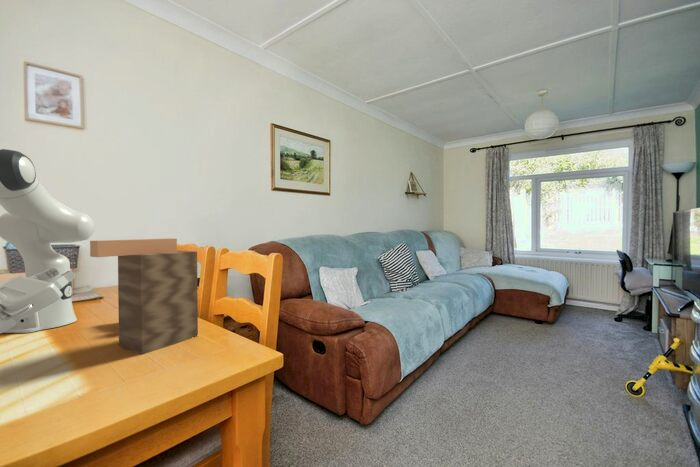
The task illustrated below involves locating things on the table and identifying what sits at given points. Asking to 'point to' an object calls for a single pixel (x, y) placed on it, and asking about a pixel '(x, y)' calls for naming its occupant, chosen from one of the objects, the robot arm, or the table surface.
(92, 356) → the table surface
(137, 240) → the rail
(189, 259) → the zigzag grain wooden block
